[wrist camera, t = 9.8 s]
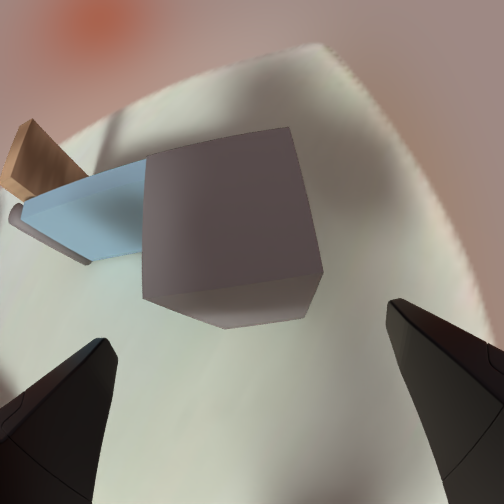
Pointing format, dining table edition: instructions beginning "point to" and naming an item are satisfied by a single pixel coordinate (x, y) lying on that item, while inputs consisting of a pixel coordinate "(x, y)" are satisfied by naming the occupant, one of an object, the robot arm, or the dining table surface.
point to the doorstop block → (230, 231)
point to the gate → (89, 215)
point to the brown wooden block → (37, 164)
